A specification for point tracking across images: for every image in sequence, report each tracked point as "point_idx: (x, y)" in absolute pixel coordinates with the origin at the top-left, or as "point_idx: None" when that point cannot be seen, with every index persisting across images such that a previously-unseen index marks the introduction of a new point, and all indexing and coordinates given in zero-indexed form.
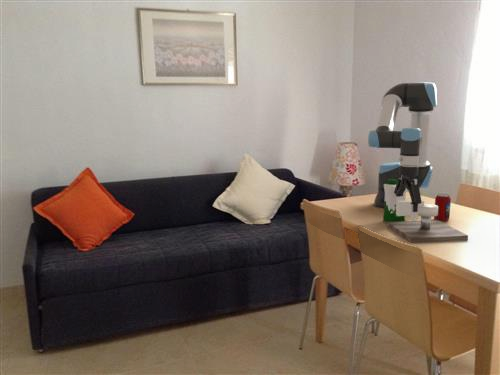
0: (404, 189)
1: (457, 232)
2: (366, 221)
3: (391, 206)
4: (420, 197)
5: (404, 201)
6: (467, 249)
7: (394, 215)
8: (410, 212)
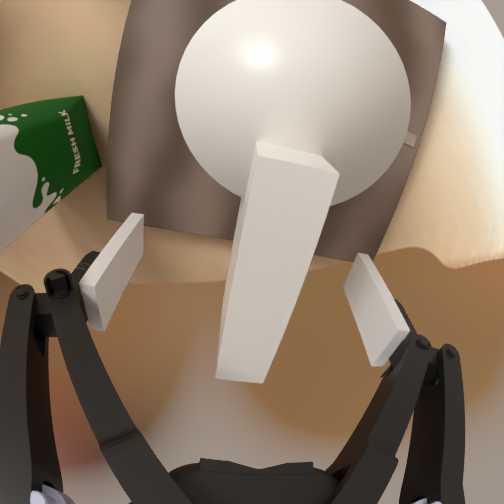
0: (111, 384)
1: (398, 12)
2: (50, 248)
3: (36, 217)
4: (460, 382)
5: (258, 352)
6: (491, 128)
7: (73, 180)
8: (355, 316)
